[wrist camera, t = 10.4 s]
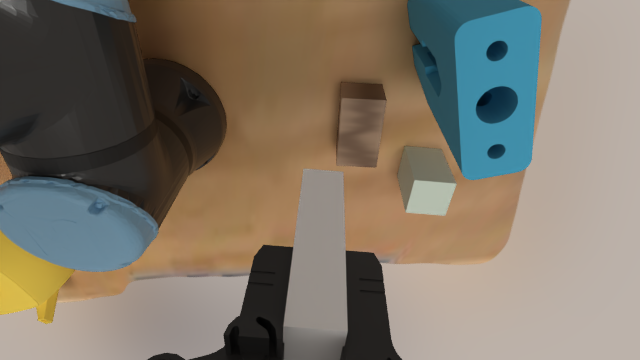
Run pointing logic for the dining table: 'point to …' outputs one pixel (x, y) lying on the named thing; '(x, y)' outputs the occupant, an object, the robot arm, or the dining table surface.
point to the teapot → (28, 281)
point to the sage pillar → (425, 181)
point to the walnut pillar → (360, 124)
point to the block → (480, 78)
